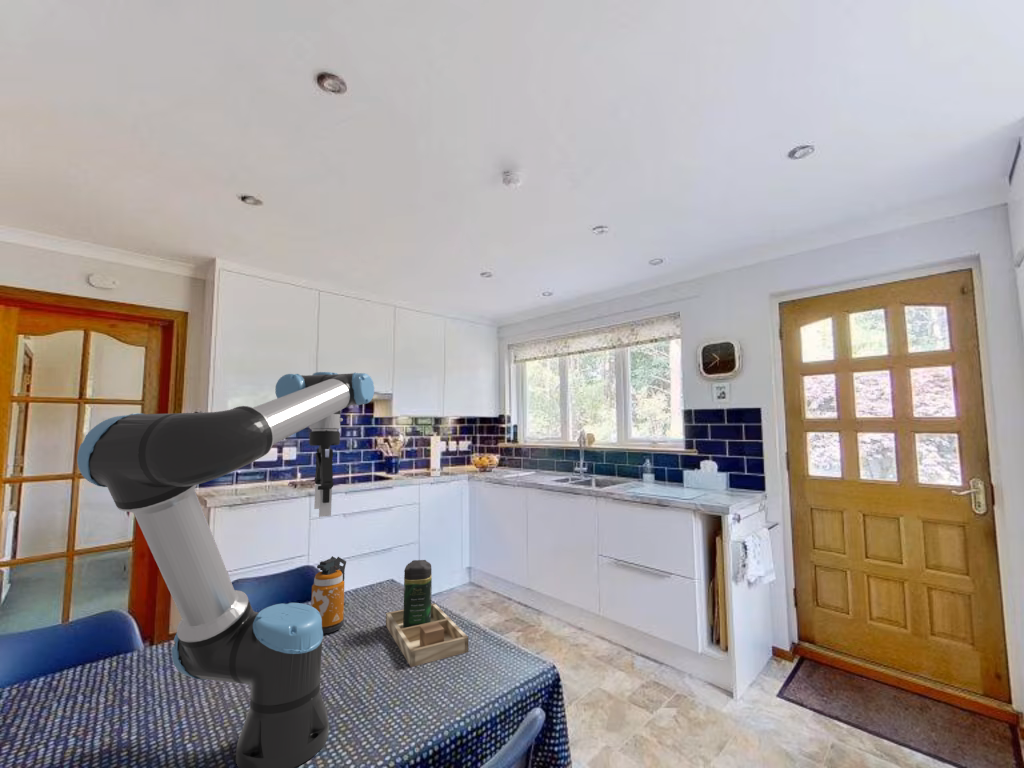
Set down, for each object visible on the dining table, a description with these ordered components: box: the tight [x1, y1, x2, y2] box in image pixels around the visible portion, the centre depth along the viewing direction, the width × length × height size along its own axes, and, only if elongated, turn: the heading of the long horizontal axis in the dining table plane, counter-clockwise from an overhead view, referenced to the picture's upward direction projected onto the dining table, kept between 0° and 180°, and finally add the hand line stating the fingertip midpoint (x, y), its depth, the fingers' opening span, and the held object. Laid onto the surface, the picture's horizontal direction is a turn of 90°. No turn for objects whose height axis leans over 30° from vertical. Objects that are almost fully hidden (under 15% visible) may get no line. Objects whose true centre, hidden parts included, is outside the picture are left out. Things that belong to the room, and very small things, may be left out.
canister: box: [310, 556, 347, 635], centre depth 132 cm, size 9×11×20 cm
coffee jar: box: [403, 559, 433, 628], centre depth 128 cm, size 10×8×19 cm
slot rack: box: [385, 603, 469, 668], centre depth 122 cm, size 27×15×4 cm, turn 28°
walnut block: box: [420, 622, 444, 647], centre depth 116 cm, size 5×5×5 cm
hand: (322, 512), depth 115 cm, fingers open, 13 cm apart
